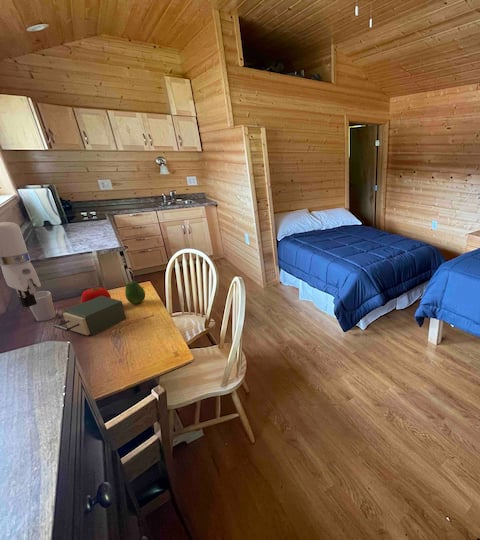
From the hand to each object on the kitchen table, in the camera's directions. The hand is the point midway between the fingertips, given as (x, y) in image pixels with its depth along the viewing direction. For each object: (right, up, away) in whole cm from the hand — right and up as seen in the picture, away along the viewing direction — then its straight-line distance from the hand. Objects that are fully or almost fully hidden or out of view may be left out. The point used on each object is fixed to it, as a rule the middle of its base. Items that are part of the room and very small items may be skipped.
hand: (30, 305), depth 110 cm
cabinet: (+5, -11, +24) cm, 27 cm away
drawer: (+3, -12, +20) cm, 24 cm away
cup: (-20, -9, +25) cm, 33 cm away
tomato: (-6, -6, +36) cm, 37 cm away
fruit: (+8, -4, +43) cm, 44 cm away
